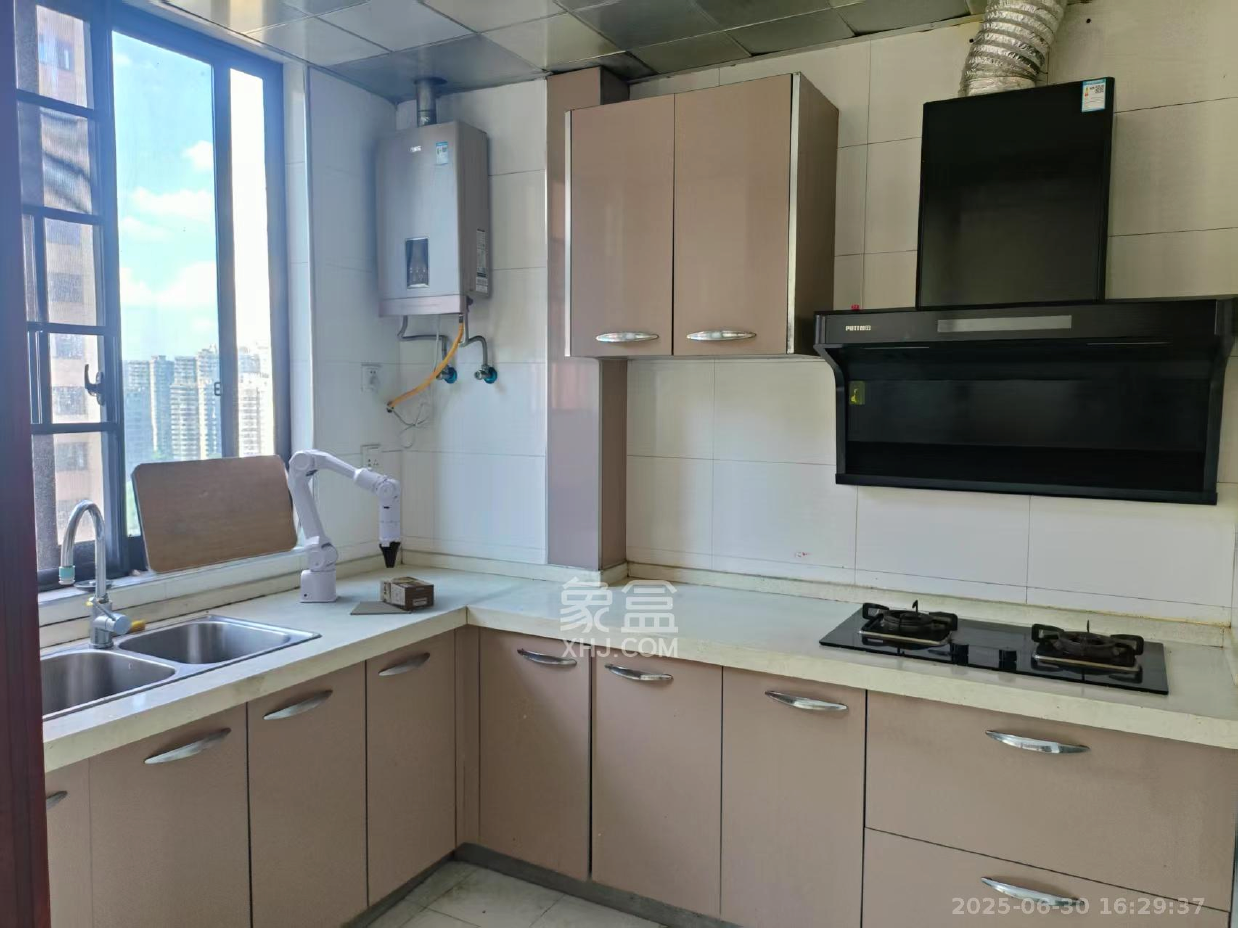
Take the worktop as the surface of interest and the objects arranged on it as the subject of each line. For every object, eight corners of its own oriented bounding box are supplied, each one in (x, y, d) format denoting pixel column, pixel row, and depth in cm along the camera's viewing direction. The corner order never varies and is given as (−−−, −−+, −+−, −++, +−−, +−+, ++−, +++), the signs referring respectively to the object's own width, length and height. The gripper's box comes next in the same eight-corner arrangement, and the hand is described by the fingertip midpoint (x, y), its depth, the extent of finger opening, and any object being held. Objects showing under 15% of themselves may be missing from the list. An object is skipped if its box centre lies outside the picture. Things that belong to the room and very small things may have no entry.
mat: (350, 614, 232) (350, 613, 232) (360, 603, 246) (360, 601, 246) (410, 613, 233) (410, 611, 233) (417, 602, 247) (417, 600, 247)
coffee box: (379, 600, 246) (404, 610, 234) (380, 578, 246) (404, 587, 233) (409, 597, 252) (434, 606, 239) (409, 575, 252) (434, 584, 239)
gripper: (399, 524, 241) (400, 571, 242) (407, 517, 255) (408, 562, 256) (373, 524, 240) (374, 572, 241) (383, 517, 255) (384, 563, 256)
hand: (390, 567), depth 249 cm, fingers closed
